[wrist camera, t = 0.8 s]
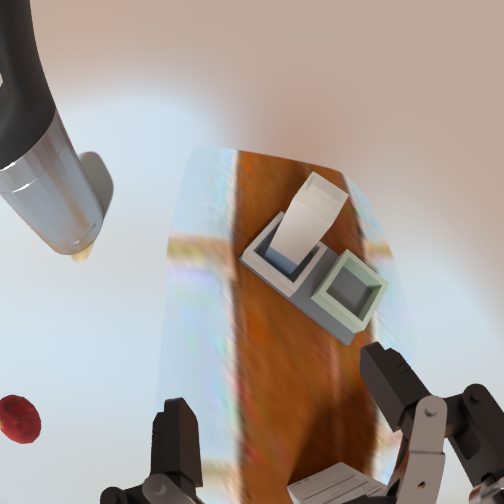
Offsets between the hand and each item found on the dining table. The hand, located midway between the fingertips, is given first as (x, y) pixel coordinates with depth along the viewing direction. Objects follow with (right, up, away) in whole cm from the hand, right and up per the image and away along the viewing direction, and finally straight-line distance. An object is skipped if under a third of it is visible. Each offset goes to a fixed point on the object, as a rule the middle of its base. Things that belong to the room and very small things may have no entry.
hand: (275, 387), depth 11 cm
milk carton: (+3, +5, +22) cm, 23 cm away
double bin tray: (+7, +3, +23) cm, 24 cm away
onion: (-27, -14, +10) cm, 32 cm away
